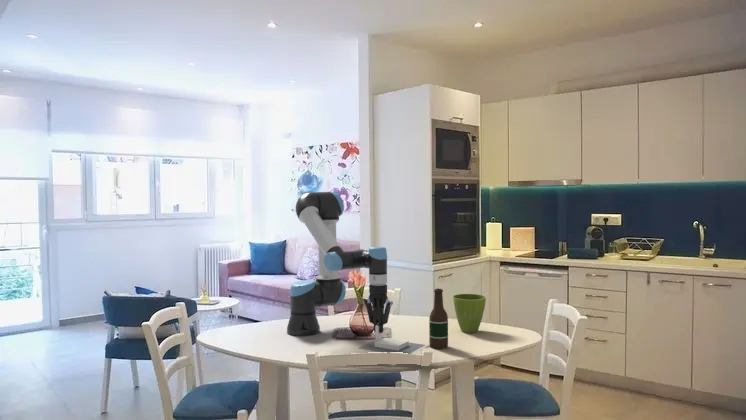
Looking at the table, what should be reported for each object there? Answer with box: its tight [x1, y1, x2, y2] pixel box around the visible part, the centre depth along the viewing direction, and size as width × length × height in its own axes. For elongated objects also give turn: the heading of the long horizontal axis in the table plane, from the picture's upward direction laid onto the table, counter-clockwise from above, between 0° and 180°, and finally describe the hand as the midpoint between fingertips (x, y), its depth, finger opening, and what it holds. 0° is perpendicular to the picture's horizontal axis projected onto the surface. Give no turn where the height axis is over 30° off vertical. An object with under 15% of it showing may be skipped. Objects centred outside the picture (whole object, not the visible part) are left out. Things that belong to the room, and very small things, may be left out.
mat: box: [358, 340, 426, 354], centre depth 227 cm, size 22×18×1 cm
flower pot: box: [452, 293, 487, 334], centre depth 254 cm, size 15×15×16 cm
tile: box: [375, 337, 410, 351], centre depth 227 cm, size 2×9×11 cm
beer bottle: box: [428, 288, 449, 350], centre depth 228 cm, size 8×8×24 cm
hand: (378, 340), depth 230 cm, fingers closed
